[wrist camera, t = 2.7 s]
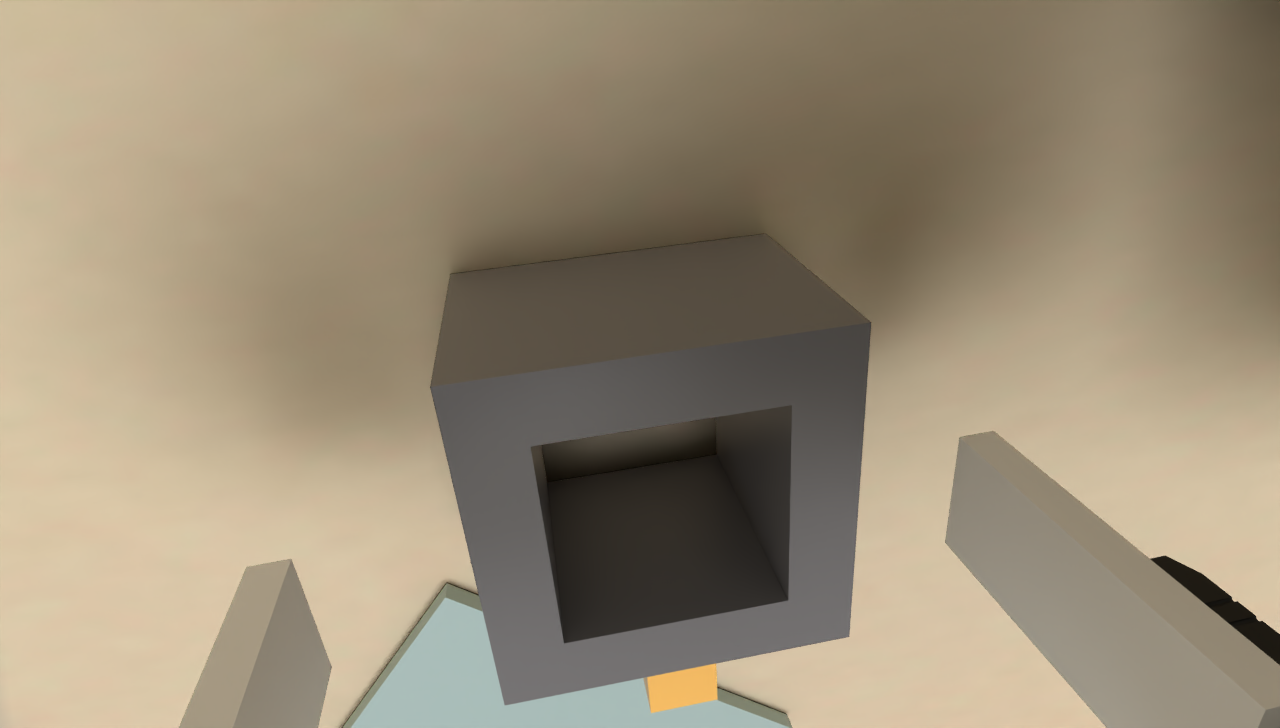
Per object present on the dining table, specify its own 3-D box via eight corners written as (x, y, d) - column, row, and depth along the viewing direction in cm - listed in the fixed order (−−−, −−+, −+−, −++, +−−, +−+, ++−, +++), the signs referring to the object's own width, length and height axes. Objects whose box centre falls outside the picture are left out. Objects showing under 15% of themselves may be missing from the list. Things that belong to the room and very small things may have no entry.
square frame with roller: (450, 274, 18) (430, 386, 13) (765, 233, 19) (870, 322, 14) (509, 564, 22) (512, 741, 17) (765, 518, 23) (846, 673, 18)
